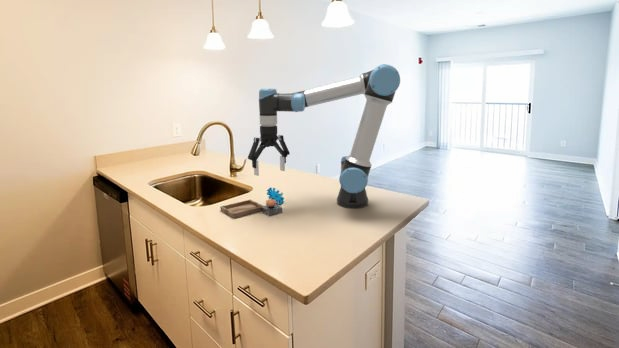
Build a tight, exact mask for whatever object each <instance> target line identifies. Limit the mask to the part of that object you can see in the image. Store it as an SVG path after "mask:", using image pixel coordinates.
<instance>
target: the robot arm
mask: <svg viewBox="0 0 619 348" xmlns="http://www.w3.org/2000/svg"><path fill="white" fill-rule="evenodd" d="M399 72H400V71H398V69H397V68H396V67H394V66H393V65H390V64H379V65H377V66H376V67H374V68H372V70H370V71H366V72H364V73H363V72H362V73H361V74H360V75H359V76H357V77H353V78H352V77H351V78H348V79H344V80H340V81H337V82H333V83H329V84H324V85H320V86H318V87H312V88H308V89H305V90H300V91H295V92H292V93H278V92H277V91H278V90H277V88H260V89H259V90H258V104H259V105H258V108H259V134H260V136H259V137H257V136H256V137H255V136H254V137H253V142H252V145H251V148H250V150H249V154H248V156H247V159H248V160H250V161H251V166H252V169H253V175H254V176H256V177H258V176H260V175H259V173H260V172H259V171H260V169H259V166H260V165H259V157H260V156H261V154H262V153H263V151H264V150H265V149H266V148H269V147H274V148H275V150H277V151H278V153H279V154H280V156H279V171H282V172H286V168H285V166H286V163H287V158H288V155H289V156H290V150H289V148H288V146H287V144H286V142H285V138H284V135H282V134H278V112H289V113H290V112H294V113H300V112H305V108H308V107H312V106H317V105H321V104H325V103H329V102H334V101H338V100H342V99H346V98H350V97H354V96H355V97H356V96H359V95H364V98H365V99H366V101H365V105H364V108H363V111H362V115H361V119H360V121H359V124H358V128H357V131H356V134H355V138H354V141H353V143H352V146H351V147H352V148H351V151H350V154H349V155H346V156H342V157H341V161H340V175H339V179H338V180H339V184H340V189H339V191H338V193H337V194H338V195H337V198H336V204H337V205H338V206H340V207H343V208H348V209H360V208H365V207H367V206H368V205H369V197H368V194H367V190H366V187H367V185H368V182H369V174H370V171H371V169H372V163H371V160H370V159H371V157H372V153H373V150H374V147H375V144H376V141H377V138H378V135H379V131H380V129H381V126H382V122H383V120H384V116H385V113H386V110H387V107H388V106H389V105H391V104H392V103H393V100H394V98H395V95H396V92H397V90H398V89H399V87H400V84H401V76H400V73H399ZM278 142H279V143H280V144H279V143H278ZM366 205H367V206H366ZM364 206H365V207H364Z"/></svg>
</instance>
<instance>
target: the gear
mask: <svg viewBox="0 0 619 348" xmlns="http://www.w3.org/2000/svg"><path fill="white" fill-rule="evenodd" d="M266 191H267V192H266V195H267V196H268V200H270V199H273V200H276V205H278V206H280V205H281V206H282V205H283V204H284V202H285V201H284V200H285V198H284V197H283V195H284V193H283V192H280V190H279V189H277V190H276V188H275V187H269V188H267V190H266Z"/></svg>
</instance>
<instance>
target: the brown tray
mask: <svg viewBox="0 0 619 348" xmlns="http://www.w3.org/2000/svg"><path fill="white" fill-rule="evenodd" d="M262 206H264V205H263V204H260V203H258V202H256V201H254V200H253V199H246V200H244V201H239V202H235V203H230V204H226V205H222V206H220V207H219V209H220V212H221V213H223V214H225V215H227V216H228V217H230V218H232V219H233V220H235V219H240V218H243V217H247V216H251V215H255V214H258V213H262V212H261V208H260V207H262Z"/></svg>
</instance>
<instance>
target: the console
mask: <svg viewBox="0 0 619 348" xmlns="http://www.w3.org/2000/svg"><path fill="white" fill-rule="evenodd" d="M260 208H261V212H260V213H262V214H263V215H266V216H268V217H272V216H274V215H275V216H276V215H278V214H282V213H283V207H282V206H280V205H279V204H278V205H277V204H276V205H274V206H273V207H270V206H267V205H266V204H265V205H263V206H262V207H260Z"/></svg>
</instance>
